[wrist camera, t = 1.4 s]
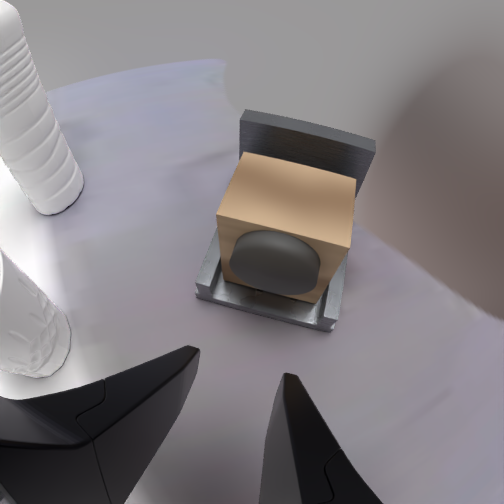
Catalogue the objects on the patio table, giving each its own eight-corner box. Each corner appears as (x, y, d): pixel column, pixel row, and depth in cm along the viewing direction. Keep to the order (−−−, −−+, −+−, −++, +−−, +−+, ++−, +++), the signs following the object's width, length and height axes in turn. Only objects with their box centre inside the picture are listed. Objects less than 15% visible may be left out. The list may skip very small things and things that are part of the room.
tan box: (312, 319, 21) (347, 268, 15) (218, 294, 22) (208, 233, 15) (326, 247, 24) (356, 179, 18) (242, 225, 25) (243, 151, 18)
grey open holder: (330, 332, 22) (369, 291, 15) (196, 297, 23) (178, 242, 16) (348, 203, 28) (375, 140, 21) (243, 177, 29) (245, 109, 23)
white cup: (88, 307, 22) (21, 243, 14) (65, 398, 18) (-23, 375, 10) (24, 288, 23) (-41, 229, 14) (1, 366, 19) (-79, 330, 10)
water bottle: (73, 162, 31) (5, -31, 9) (93, 190, 28) (11, -41, 7) (16, 205, 27) (-81, 27, 6) (29, 240, 25) (-97, 33, 3)
